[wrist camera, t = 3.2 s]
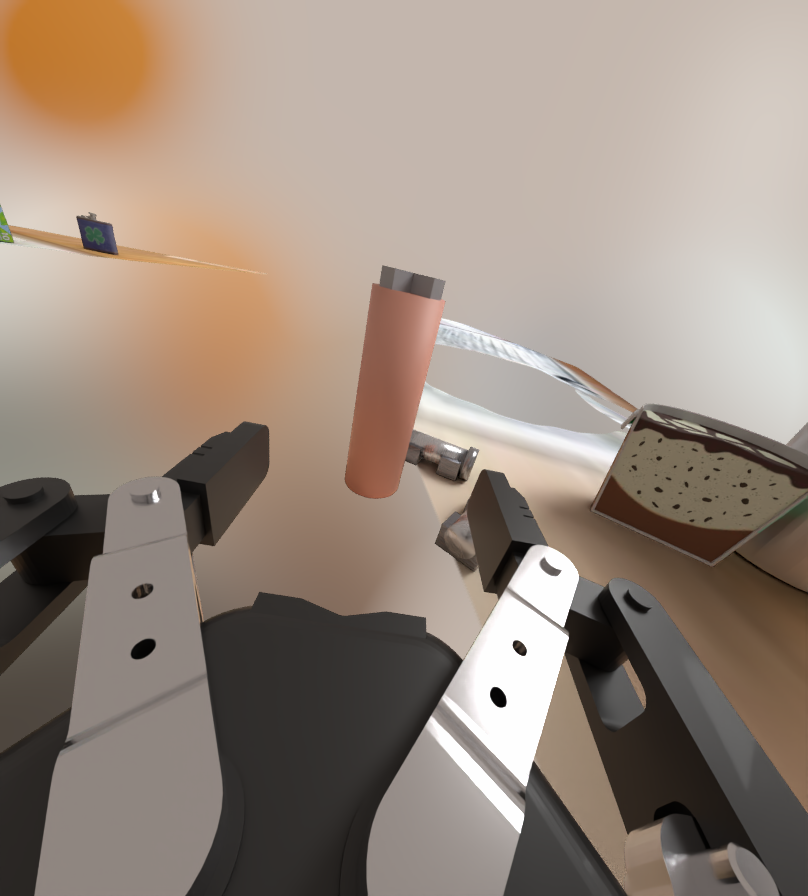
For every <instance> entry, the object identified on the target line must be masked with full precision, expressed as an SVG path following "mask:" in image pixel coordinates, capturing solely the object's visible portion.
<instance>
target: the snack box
mask: <svg viewBox="0 0 808 896" xmlns="http://www.w3.org/2000/svg"><path fill="white" fill-rule="evenodd" d="M0 241H3V242H11V243H14V241H13V238H12V235H11V232H10V229H9V227H8V224H7V221H6V219H5V216H4V213H3V210H2V208H1V205H0Z"/></svg>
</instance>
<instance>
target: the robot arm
mask: <svg viewBox="0 0 808 896" xmlns="http://www.w3.org/2000/svg"><path fill="white" fill-rule="evenodd" d="M786 445H787V446H789V447H792V448H794V449H796V450H798V451H801V452H803V453H805V454H807V455H808V423H807V424H806V425H805V426H804V427H803V428H802V429H801V430H800V431H799V432H798V433H797V434H796V435H795V436H794V437H793V438H792V439H791V440H790V441H789V442H788V443H787V444H786ZM268 468H269V429H268V427H267V426H266V425H261V424H256V423H250V422H243V423H241V424H240V425H239V426H238V427H237V428H235V429H234V430H233V431H232V432H231V433H230V432H224V433H221V434H219V435H216V436H214V437H211V438H210V439H209V440H207V441H206V442H205V443H204V444H202V445H201V447H199V448H197V449H196V450H195V451H194V452H193V453H192V454H190V455H189V456H187V457H186V458H185V459H183V460H182V461H181V462H180V463H178V464H177V465H176V466H175V467H173V468H172V469H171V470H170V471H168V472H167V473H166V474H164V476H162V477H145V478H140V479H136V480H133V481H130V482H128V483H125V484H123V485H121V486H120V487H118V488H117V489H115V490H114V491H113V492H112V493H111V494H107V495H75V496H74V494H73V491H72V489H71V487H70V485H69V483H67V482H66V481H65V480H62V479H58V478H33V479H27V480H22V481H18V482H14V483H11V484H7V485H4V486H2V487H0V568H1V567H3V566H4V565H5V564H7V563H8V562H9V561H11V562H12V564H13V565H14V567H15V569H16V571H15V572H13V573H12V574H11V575H10V576H8V577H7V578H6V579H5V580H3V581H2V582H1V583H0V675H1V674H2V673H3V672H4V671H5V670H6V669H7V668H8V667H9V666H10V665H11V664H12V663H13V662H14V661H15V660H16V659H17V658H18V657H19V655H21V654H22V653H23V652H24V651H25V649H27V648H28V647H29V645H30V644H31V643H32V642H33V641H34V640H35V639H36V638H37V637H38V636H39V635H40V634H41V633H42V632H43V631H44V630H45V629H46V628H47V627H48V626H49V625H50V624H51V623H52V622H53V621H54V620H55V619H56V618H57V617H58V616H59V615H60V614H61V613H62V612H63V611H64V610H65V608H66V607H67V606H68V605H69V604H70V603H71V602H72V601H73V600H74V599H75V598H76V597H77V596H78V595H79V594H80V593H81V592H82V591H83V590H84V589H85V588H86V587H87V586H88V587H87V596H86V603H85V610H84V618H83V626H82V634H81V641H80V649H79V656H78V664H77V672H76V679H75V688H74V695H73V702H72V707H70V708H69V709H67V710H66V711H64V712H63V713H61V714H60V715H58V716H57V717H55V718H53V719H52V720H50V721H49V722H47V723H46V724H44V725H43V726H41V727H40V728H38V729H36V730H35V731H34V732H32V733H30V734H29V735H27V736H26V737H24V738H23V739H21V740H20V741H18V742H17V743H15V744H13V745H12V746H11V747H9V748H7V749H6V750H4V751H3V752H1V753H0V896H808V813H807V812H806V811H805V809H804V808H803V806H802V805H801V804H800V802H799V801H798V799H797V798H796V796H795V795H794V794H793V792H792V791H791V789H790V788H789V786H788V785H787V784H786V782H785V781H784V779H783V778H782V776H781V775H780V774H779V772H778V771H777V769H776V768H775V766H774V765H773V764H772V762H771V761H770V759H769V758H768V756H767V755H766V754H765V752H764V751H763V749H762V748H761V747H760V745H759V744H758V742H757V741H756V739H755V738H754V737H753V735H752V734H751V732H750V731H749V729H748V728H747V727H746V725H745V724H744V722H743V721H742V719H741V718H740V717H739V715H738V714H737V712H736V711H735V709H734V708H733V707H732V705H731V704H730V702H729V701H728V699H727V698H726V697H725V695H724V694H723V692H722V691H721V689H720V688H719V687H718V685H717V684H716V682H715V681H714V680H713V678H712V677H711V675H710V674H709V672H708V671H707V670H706V668H705V667H704V665H703V664H702V662H701V661H700V660H699V658H698V657H697V655H696V654H695V652H694V651H693V650H692V648H691V647H690V645H689V644H688V642H687V641H686V640H685V638H684V637H683V635H682V634H681V632H680V631H679V630H678V628H677V627H676V625H675V624H674V623H673V621H672V620H671V618H670V617H669V615H668V614H667V613H666V611H665V610H664V608H663V607H662V606H661V604H660V603H659V602H658V601H657V600H656V598H655V597H653V596H652V595H651V594H650V593H649V592H648V591H647V590H645V589H644V588H642V587H641V586H639V585H638V584H636V583H634V582H632V581H629V580H627V579H623V578H614V579H612V580H611V581H610V582H609V583H608V584H607V585H606V586H605V587H603V586H601V585H598V584H596V583H594V582H591V581H589V580H587V579H584V578H582V577H580V576H578V573H577V571H576V569H575V567H574V565H573V564H572V563H571V562H570V560H568V559H567V558H566V557H565V556H564V555H563V554H561V553H560V552H558V551H557V550H555V549H553V548H550V547H548V545H547V543H546V541H545V539H544V537H543V535H542V533H541V531H540V529H539V527H538V525H537V523H536V520H535V519H533V517H534V516H533V514H532V512H531V510H529V506H528V504H527V502H526V500H525V498H524V497H523V496H522V495H521V494H520V493H519V492H518V491H517V490H516V489H515V488H511V487H510V485H509V483H508V481H507V479H506V477H505V475H504V473H500V472H495V471H490V470H485V469H484V470H482V471H481V473H480V475H479V477H478V480H477V482H476V485H475V487H474V489H473V492H472V494H471V497H470V499H469V502H468V507H467V518H468V522H469V527H470V531H471V535H472V540H473V544H474V549H475V553H476V558H477V562H478V567H479V571H480V576H481V580H482V585H483V589H484V592H489V593H495V594H497V595H498V599H499V600H498V602H497V604H496V605H495V607H494V609H493V610H492V612H491V614H490V616H489V617H488V619H487V621H486V622H485V624H484V626H483V627H482V629H481V631H480V632H479V634H478V636H477V637H476V639H475V641H474V643H473V644H472V646H471V648H470V650H469V651H468V653H467V654H466V656H465V658H464V660H462V659H461V658H460V657H459V655H458V654H457V653H456V652H455V651H454V650H453V649H451V648H450V647H449V646H448V645H447V644H445V643H444V642H443V641H441V640H440V639H438V638H437V637H435V636H433V635H432V634H429V633H427V632H426V618H424V617H417V616H411V615H405V614H398V613H392V612H379V613H369V614H359V615H350V616H341V615H338V614H336V613H333V612H331V611H329V610H326V609H324V608H322V607H320V606H317V605H315V604H313V603H311V602H308V601H306V600H304V599H301V598H295V597H288V596H282V595H275V594H268V593H262V592H259V594H258V596H257V598H256V600H255V602H254V604H253V606H247V607H242V608H238V609H233V610H230V611H227V612H224V613H221V614H219V615H216V616H214V617H211V618H210V619H207V620H206V621H204V619H203V613H202V608H201V601H200V595H199V589H198V583H197V577H196V571H195V564H194V558H193V553H192V552H193V551H194V549H195V548H196V547H197V546H198V544H204V545H211V546H215V545H216V543H217V542H218V541H219V539H220V538H221V536H222V535H223V534H224V532H225V531H226V530H227V528H228V527H229V526H230V524H231V523H232V522H233V520H234V519H235V517H236V516H237V515H238V514H239V512H240V511H241V509H242V508H243V507H244V505H245V504H246V503H247V501H248V500H249V499H250V497H251V496H252V495H253V493H254V492H255V491H256V489H257V488H258V486H259V485H260V484H261V482H262V481H263V480H264V478H265V476H266V474H267V472H268ZM735 551H736V552H738V553H739V554H740V555H742V556H743V557H745V558H746V559H747V560H749V561H750V562H752V563H753V564H755V565H757V566H758V567H760V568H761V569H763V570H764V571H766V572H768V573H770V574H771V575H773V576H775V577H777V578H778V579H780V580H782V581H784V582H786V583H788V584H790V585H792V586H794V587H796V588H798V589H801V590H803V591H805V592H808V498H807V499H805V500H804V501H803V502H801V503H800V504H799V505H797V506H796V507H794V508H793V509H792V510H790V511H789V512H787V513H786V514H785V515H783V516H782V517H781V518H779V519H778V520H776V521H775V522H774V523H772V524H771V525H770V526H768V527H767V528H765V529H764V530H763V531H761V532H760V533H758V534H757V535H756V536H754V537H753V538H752V539H750V540H749V541H747V542H746V543H745V544H743V545H742V546H740V547H739V548H738V549H736V550H735ZM563 654H565V656H566V659H567V662H568V665H569V668H570V671H571V674H572V676H573V679H574V682H575V685H576V688H577V691H578V694H579V696H580V699H581V702H582V705H583V708H584V711H585V714H586V716H587V719H588V722H589V725H590V728H591V731H592V734H593V736H594V739H595V742H596V745H597V748H598V751H599V754H600V756H601V759H602V762H603V765H604V768H605V771H606V774H607V776H608V779H609V782H610V785H611V788H612V791H613V794H614V796H615V799H616V802H617V805H618V808H619V811H620V814H621V816H622V819H623V822H624V825H625V828H626V831H627V834H628V836H627V839H626V842H625V848H624V858H625V866H626V871H627V873H626V875H625V877H624V890H625V891H624V890H623V888H622V887H621V885H620V884H619V882H618V881H617V879H616V878H615V877H614V875H613V874H612V872H611V871H610V869H609V868H608V867H607V865H606V864H605V862H604V861H603V859H602V858H601V857H600V855H599V854H598V852H597V851H596V849H595V848H594V847H593V845H592V844H591V842H590V841H589V839H588V838H587V837H586V835H585V834H584V832H583V831H582V829H581V828H580V826H579V825H578V824H577V822H576V821H575V819H574V818H573V816H572V815H571V814H570V812H569V811H568V809H567V808H566V806H565V805H564V804H563V802H562V801H561V799H560V798H559V796H558V795H557V794H556V792H555V791H554V789H553V788H552V786H551V785H550V784H549V782H548V781H547V779H546V778H545V776H544V775H543V774H542V772H541V771H540V769H539V768H538V766H537V765H536V763H535V762H534V761H533V759H534V755H535V752H536V748H537V745H538V741H539V738H540V734H541V731H542V727H543V724H544V720H545V717H546V713H547V710H548V706H549V703H550V700H551V696H552V693H553V689H554V686H555V682H556V679H557V675H558V672H559V668H560V665H561V661H562V658H563ZM628 659H629V661H630V663H631V665H632V667H633V669H634V671H635V672H636V674H637V676H638V678H639V680H640V682H641V684H642V686H643V688H644V691H645V695H646V708H645V710H644V708H643V706H642V704H641V702H640V700H639V697H638V695H637V693H636V691H635V689H634V687H633V685H632V683H631V681H630V679H629V677H628V675H627V673H626V671H625V669H624V667H623V665H622V664H623V663H624V662H625V661H627V660H628Z"/></svg>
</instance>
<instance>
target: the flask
mask: <svg viewBox="0 0 808 896" xmlns="http://www.w3.org/2000/svg"><path fill="white" fill-rule="evenodd" d="M89 214H90V216H86V217H88V218H85V216H83V215H81V216H77V221H78V225H79V229H80V233H81V238H82V243H83V246H84V248H85V249H89V250H93V251H99V252H104V253H108V254H114V255H118V251H117V247H116V242H115V238H114V233H113V227H112V225H111V224H110V223H105V222H100V221H97V220H96V217H95V216H96V214H93V213H90V212H89Z"/></svg>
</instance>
